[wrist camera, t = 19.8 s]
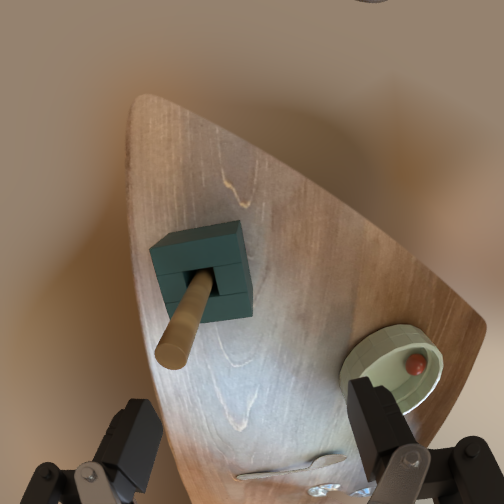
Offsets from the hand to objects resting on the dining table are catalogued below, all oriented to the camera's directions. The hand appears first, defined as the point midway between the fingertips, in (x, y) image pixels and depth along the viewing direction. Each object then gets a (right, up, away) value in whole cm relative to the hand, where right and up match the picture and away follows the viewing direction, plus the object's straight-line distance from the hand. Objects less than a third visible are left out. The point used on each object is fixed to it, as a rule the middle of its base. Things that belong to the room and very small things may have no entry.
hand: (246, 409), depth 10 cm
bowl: (+18, -9, +23) cm, 31 cm away
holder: (-4, +5, +19) cm, 20 cm away
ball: (+22, -9, +21) cm, 31 cm away
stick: (-4, +5, +19) cm, 20 cm away
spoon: (+7, -32, +30) cm, 45 cm away
